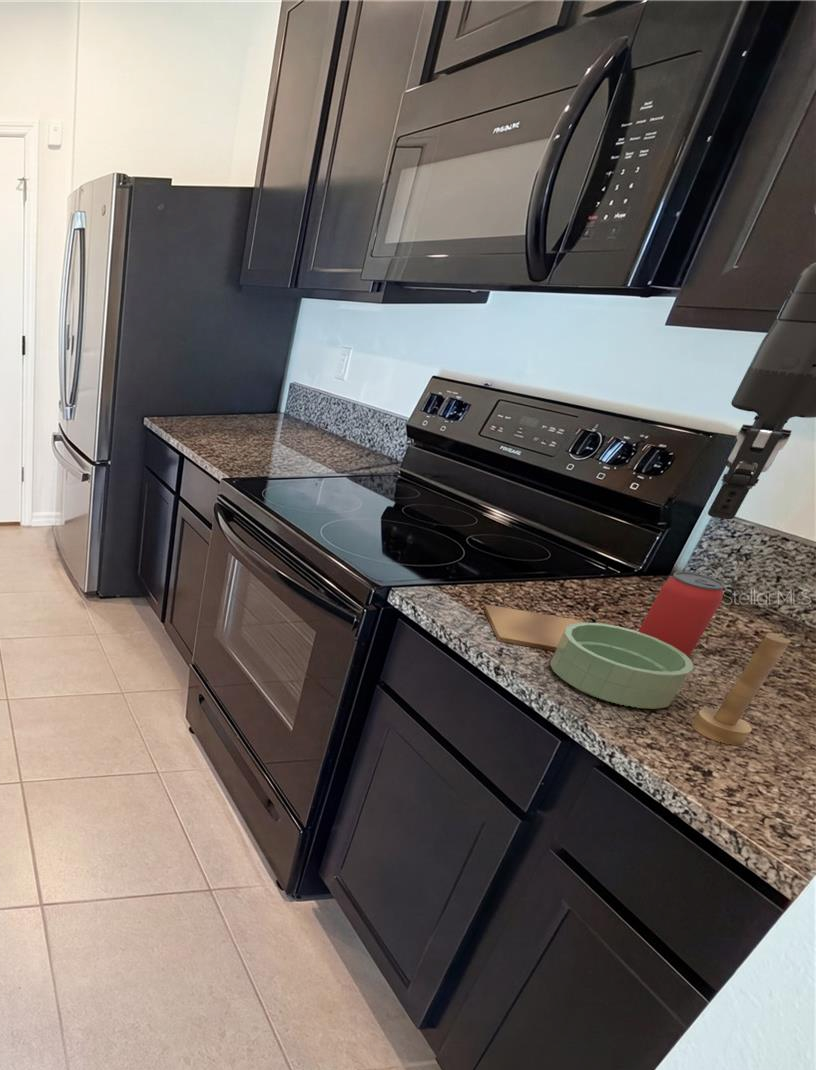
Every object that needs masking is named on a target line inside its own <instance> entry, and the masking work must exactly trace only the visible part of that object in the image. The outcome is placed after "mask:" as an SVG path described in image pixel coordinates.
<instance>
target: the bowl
mask: <svg viewBox="0 0 816 1070" xmlns="http://www.w3.org/2000/svg"><path fill="white" fill-rule="evenodd" d="M638 631H639V630H638ZM638 631H637V630H634V629H630V628H626V627H622V626H619V625H613V624H606V623H600V622H588V621H587V622H585V621H584V622H583V623H575V624H571V625H569V626H567V627H566V628H565V630H564V632H563V634H562V636H561V639H560V641H559V643H558V645H557V647H556V649H555V651H553V653H552V656H551V658H550V662H549V665H550V668H551V670H552V671H553V673H555V675H557V676H558V677H559V678H560V679H561V680H562V681H564V682H566V683H567V684H568V685H569V686H572V687H573V688H574V689H576V690H578V691H580V692H582V693H584V694H586V695H589V696H591V697H593V698H595V697H596V698H595V699H598V698H599V699H598V700H601V701H604V702H608V703H610V702H611V704H614V703H615V705H618V704H619V705H618V706H622V705H624V706H623V707H628V706H631V707H630V708H635V707H636V708H637V709H648V710H650V709H651V710H656V709H657V710H658V709H663V708H668V707H669V706H671V705H672V704H673V703H674V702H675V701H676V699H677V697H678V696H679V694H680V692H681V691H682V689H683V688H684V685H686V683H687V681H688V679H689V678H690V675H691V674H692V672H693V671H694V662H693V661H692V660H691V659H690V658H689V656H686V654H684V653H683V652H681V651H680V650H678V649H677V648H675V647H673V646H672V645H670V644H667V643H665V642H663V641H661V640H659V639H657V638H655V637H652V636H649V635H646V634H643V633H641V632H638Z"/></svg>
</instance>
